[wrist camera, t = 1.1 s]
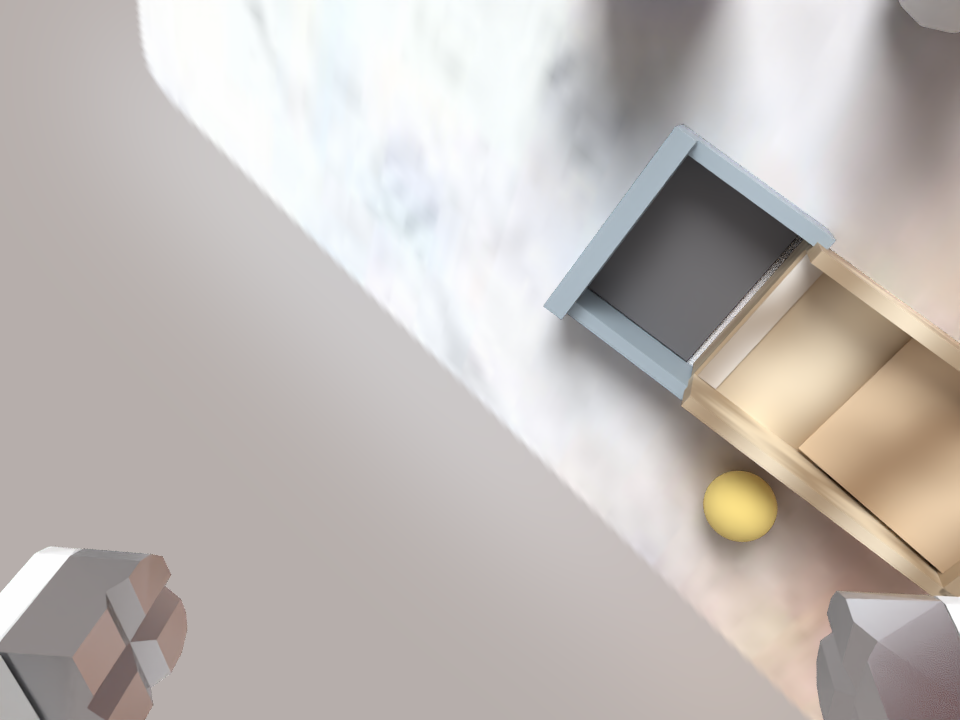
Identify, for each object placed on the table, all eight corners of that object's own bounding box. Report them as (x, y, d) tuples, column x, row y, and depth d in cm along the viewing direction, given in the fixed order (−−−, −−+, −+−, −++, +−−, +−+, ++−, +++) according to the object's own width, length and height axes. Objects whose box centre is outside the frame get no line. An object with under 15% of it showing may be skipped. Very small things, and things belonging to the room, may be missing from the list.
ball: (790, 488, 44) (795, 522, 40) (744, 532, 45) (744, 568, 42) (735, 446, 44) (734, 476, 40) (690, 491, 46) (686, 524, 42)
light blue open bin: (828, 229, 39) (839, 245, 34) (690, 382, 44) (685, 413, 39) (683, 124, 40) (675, 126, 35) (563, 285, 44) (543, 306, 40)
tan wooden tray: (1071, 420, 38) (1126, 472, 33) (919, 542, 42) (945, 606, 37) (811, 230, 39) (822, 250, 34) (688, 368, 43) (681, 406, 38)
